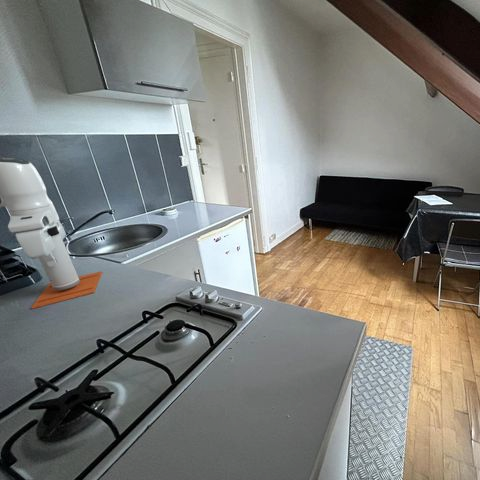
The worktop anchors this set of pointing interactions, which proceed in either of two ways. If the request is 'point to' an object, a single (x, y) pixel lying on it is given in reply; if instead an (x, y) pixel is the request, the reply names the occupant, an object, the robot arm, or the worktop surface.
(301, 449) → the worktop surface
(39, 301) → the drying mat
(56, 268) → the travel mug
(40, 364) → the worktop surface
